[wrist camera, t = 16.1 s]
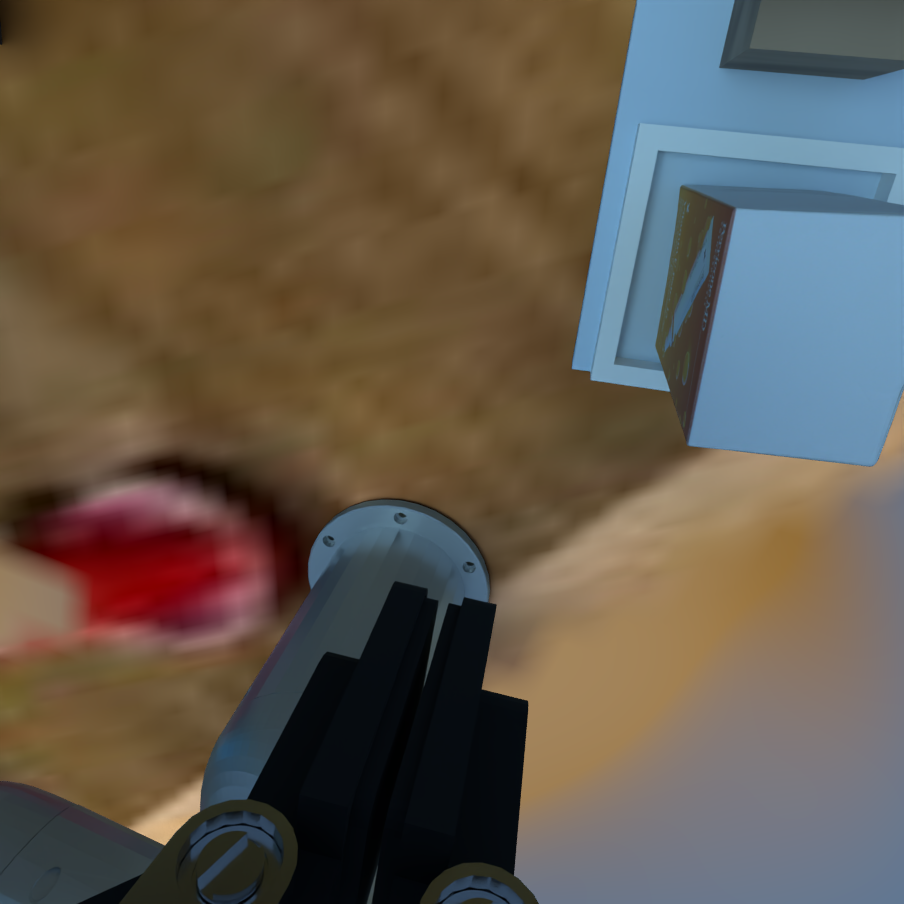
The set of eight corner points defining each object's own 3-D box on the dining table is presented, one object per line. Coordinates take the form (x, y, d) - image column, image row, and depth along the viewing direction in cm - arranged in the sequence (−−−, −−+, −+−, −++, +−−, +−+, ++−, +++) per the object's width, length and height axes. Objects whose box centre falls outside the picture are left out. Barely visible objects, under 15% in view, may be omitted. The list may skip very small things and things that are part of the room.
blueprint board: (834, 398, 35) (854, 418, 32) (572, 360, 37) (571, 377, 34) (1026, -126, 26) (1077, -159, 23) (661, -142, 27) (670, -174, 25)
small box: (678, 182, 31) (733, 200, 19) (821, 188, 30) (971, 211, 18) (650, 349, 34) (684, 450, 23) (779, 359, 33) (883, 470, 22)
